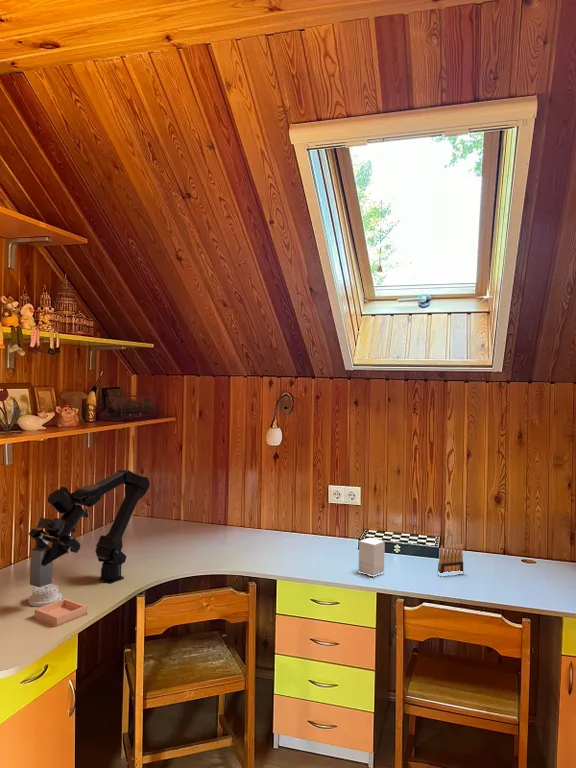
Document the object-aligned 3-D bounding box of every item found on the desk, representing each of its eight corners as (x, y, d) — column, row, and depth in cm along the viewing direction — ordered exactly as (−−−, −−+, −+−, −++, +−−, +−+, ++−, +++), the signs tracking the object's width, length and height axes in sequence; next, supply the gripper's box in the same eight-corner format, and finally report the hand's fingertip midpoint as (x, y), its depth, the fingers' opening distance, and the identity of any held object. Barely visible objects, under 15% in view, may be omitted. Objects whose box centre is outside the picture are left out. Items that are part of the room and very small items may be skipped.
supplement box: (384, 573, 216) (385, 541, 216) (373, 578, 210) (374, 544, 210) (369, 568, 221) (370, 537, 221) (357, 573, 216) (358, 540, 215)
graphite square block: (42, 580, 178) (43, 545, 178) (51, 583, 176) (52, 548, 176) (29, 584, 174) (30, 549, 174) (39, 587, 172) (40, 551, 172)
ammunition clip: (460, 573, 219) (461, 542, 219) (463, 574, 217) (464, 544, 217) (437, 575, 216) (438, 544, 215) (440, 577, 214) (441, 545, 214)
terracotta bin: (64, 606, 176) (65, 598, 176) (87, 614, 170) (87, 606, 170) (34, 617, 167) (34, 609, 167) (56, 626, 161) (57, 618, 161)
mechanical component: (25, 599, 181) (31, 610, 173) (25, 585, 181) (32, 596, 173) (57, 593, 187) (65, 603, 179) (57, 580, 187) (65, 589, 179)
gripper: (34, 503, 183) (2, 545, 173) (74, 511, 174) (42, 555, 164) (54, 522, 189) (24, 563, 180) (93, 530, 181) (63, 574, 171)
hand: (37, 563), depth 173 cm, fingers closed on graphite square block, 4 cm apart
